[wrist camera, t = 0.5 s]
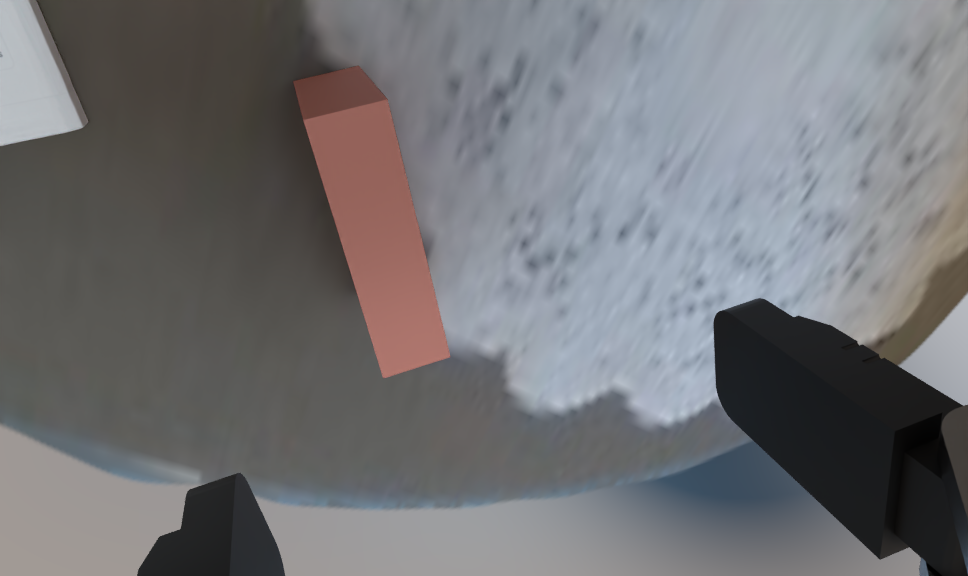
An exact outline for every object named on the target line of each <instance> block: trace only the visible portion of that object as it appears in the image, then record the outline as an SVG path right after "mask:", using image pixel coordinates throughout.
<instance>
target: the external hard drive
mask: <svg viewBox="0 0 968 576" xmlns="http://www.w3.org/2000/svg"><path fill="white" fill-rule="evenodd" d="M87 123H88V119H87V117H86V115H85V112H84V110H83V108H82V105H81V103H80V100H79V98H78V96H77V94H76V92H75V89H74V87H73V85H72V82H71V79H70V77H69V75H68V72H67V70H66V68H65V65H64V63H63V61H62V59H61V56H60V54H59V52H58V49H57V47H56V45H55V42H54V40H53V38H52V35H51V33H50V31H49V28H48V26H47V24H46V21H45V19H44V17H43V14H42V12H41V10H40V8H39V5H38V3H37V1H36V0H0V146H3V145H8V144H12V143H17V142H22V141H27V140H31V139H37V138H42V137H46V136H51V135H57V134H62V133H66V132H70V131H74V130H78V129H81V128H83V127H84V126H85V125H86V124H87Z"/></svg>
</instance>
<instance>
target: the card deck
mask: <svg viewBox="0 0 968 576" xmlns="http://www.w3.org/2000/svg"><path fill="white" fill-rule="evenodd" d="M293 83H294V87H295V90H296V94H297V98H298V102H299V106H300V109H301V113H302V117H303V121H304V124H305V127H306V130H307V134H308V137H309V140H310V143H311V146H312V150H313V153H314V156H315V159H316V163H317V166H318V169H319V172H320V175H321V179H322V182H323V185H324V188H325V192H326V195H327V198H328V201H329V204H330V208H331V211H332V214H333V217H334V221H335V224H336V227H337V230H338V233H339V237H340V240H341V243H342V246H343V250H344V253H345V256H346V259H347V262H348V266H349V269H350V272H351V275H352V279H353V282H354V285H355V288H356V291H357V295H358V298H359V301H360V304H361V308H362V311H363V314H364V317H365V320H366V324H367V327H368V330H369V333H370V337H371V340H372V343H373V346H374V349H375V353H376V356H377V359H378V362H379V366H380V369H381V372H382V375H383V378H386V377H389V376H392V375H396V374H399V373H402V372H405V371H408V370H411V369H414V368H417V367H420V366H424V365H427V364H430V363H433V362H436V361H439V360H442V359H445V358H449V357H450V353H449V349H448V345H447V341H446V337H445V332H444V328H443V324H442V320H441V316H440V312H439V308H438V304H437V300H436V296H435V292H434V287H433V283H432V279H431V275H430V271H429V267H428V263H427V259H426V255H425V251H424V247H423V242H422V238H421V234H420V230H419V226H418V222H417V218H416V214H415V210H414V206H413V202H412V197H411V193H410V189H409V185H408V181H407V177H406V173H405V169H404V165H403V161H402V156H401V152H400V148H399V144H398V140H397V136H396V132H395V128H394V124H393V120H392V116H391V111H390V107H389V103H388V99H387V98H386V97H385V96H384V95H383V93H382V92H381V91H380V90H379V89H378V88H377V87H376V85H375V84H374V83H373V82H372V81H371V80H370V78H369V77H368V76H367V75H366V74H365V73H364V71H363V70H362V69H361V68H360V67H359V66H355V67H351V68H346V69H342V70H338V71H334V72H330V73H325V74H321V75H317V76H313V77H309V78H304V79H300V80H296V81H293Z"/></svg>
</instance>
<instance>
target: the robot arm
mask: <svg viewBox="0 0 968 576" xmlns="http://www.w3.org/2000/svg"><path fill="white" fill-rule="evenodd" d="M714 348H715V373H716V389H717V393H718V397H719V399H720V402H721V404H722V406H723V408H724V410H725V412H726V413H727V415H728V416H729V417H730V419H731V420H732V421H733V422H734V423H735V424H736V425H738V426H739V427H740V428H741V429H742V430H743V431H744V432H745V433H746V434H747V435H748V436H749V437H750V438H751V439H752V440H753V441H754V442H756V443H757V444H758V445H759V446H760V447H761V448H762V449H763V450H764V451H765V452H766V453H767V454H768V455H769V456H770V457H771V458H773V459H774V460H775V461H776V462H777V463H778V464H779V465H780V466H781V467H782V468H783V469H784V470H785V471H786V472H787V473H788V474H790V475H791V476H792V477H793V478H794V479H795V480H796V481H797V482H798V483H799V484H800V485H801V486H802V487H803V488H804V489H805V490H807V491H808V492H809V493H810V494H811V495H812V496H813V497H814V498H815V499H816V500H817V501H818V502H819V503H821V505H822V506H824V507H825V508H826V509H827V510H828V511H829V512H830V513H831V514H832V515H833V516H834V517H835V518H836V519H837V520H839V522H841V523H842V524H843V525H844V526H845V527H846V528H847V529H848V530H849V531H850V532H851V533H852V534H853V535H854V536H856V537H857V538H858V539H859V540H860V541H861V542H862V543H863V544H864V545H865V546H866V547H867V548H868V549H869V550H870V551H871V552H872V553H874V555H876V556H877V557H878V558H879V559H883V558H885V557H887V556H890V555H892V554H894V553H897V552H899V551H901V550H904V549H906V548H908V547H910V548H911V549H912V550H913V551H914V552H916V553H917V554H918V555H919V556H920V557H921V561H920V568H919V573H920V576H968V405H965V406H963V405H961V404H959V403H958V402H956V401H954V400H953V399H951V398H949V397H948V396H946V395H944V394H943V393H941V392H940V391H938V390H936V389H935V388H933V387H931V386H930V385H928V384H926V383H925V382H923V381H921V380H920V379H918V378H917V377H915V376H913V375H912V374H910V373H908V372H907V371H905V370H903V369H902V368H900V367H898V366H897V365H895V364H894V363H892V362H890V361H889V360H887V359H885V358H883V359H881V358H880V357H879V354H877V353H875V352H874V351H872V350H871V349H869V348H867V347H866V346H864V345H860V346H859V345H858V343H857V341H856V340H854V339H852V338H851V337H849V336H847V335H846V334H844V333H843V332H841V331H839V330H838V329H836V328H834V327H833V326H831V325H827V324H824V323H821V322H817V321H814V320H811V319H808V318H804V317H801V316H796V317H792V316H790V315H789V314H787V313H786V312H784V311H783V310H781V309H779V308H778V307H776V306H775V305H773V304H772V303H770V302H768V301H767V300H765V299H761V298H758V299H755V300H752V301H749V302H746V303H743V304H740V305H737V306H734V307H731V308H728V309H725V310H722V311H719V312H718V313H717V314H716V316H715V318H714ZM137 576H285V573H284V568H283V563H282V559H281V555H280V552H279V549H278V547H277V544H276V542H275V539H274V537H273V535H272V533H271V531H270V529H269V527H268V525H267V523H266V521H265V518H264V516H263V514H262V512H261V510H260V508H259V506H258V503H257V501H256V499H255V497H254V495H253V493H252V491H251V489H250V486H249V484H248V482H247V480H246V479H245V477H244V476H243V475H242V474H241V473H237V474H234V475H231V476H228V477H225V478H222V479H219V480H216V481H214V482H211V483H208V484H205V485H202V486H199V487H196V488H193V489H190V490H189V491H188V492H187V495H186V500H185V506H184V512H183V519H182V526H181V529H180V530H177V531H174V532H171V533H168V534H166V535H163V536H160V537H159V538H158V540H157V541H156V543H155V544H154V546H153V548H152V549H151V551H150V552H149V554H148V555H147V557H146V559H145V560H144V562H143V563H142V565H141V566H140V568H139V570H138V574H137Z"/></svg>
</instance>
